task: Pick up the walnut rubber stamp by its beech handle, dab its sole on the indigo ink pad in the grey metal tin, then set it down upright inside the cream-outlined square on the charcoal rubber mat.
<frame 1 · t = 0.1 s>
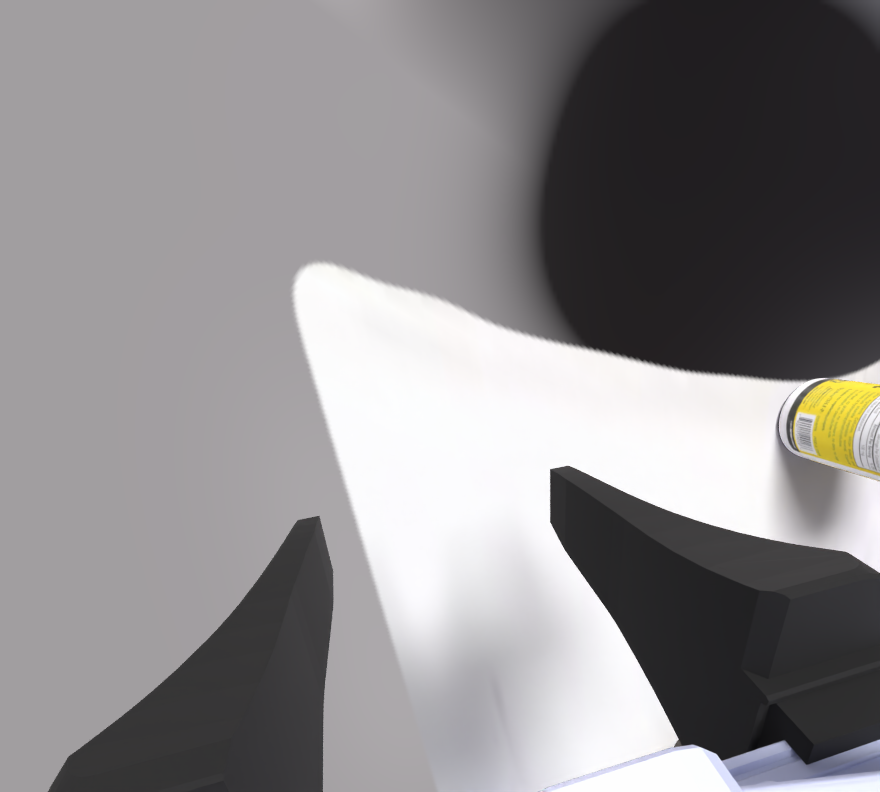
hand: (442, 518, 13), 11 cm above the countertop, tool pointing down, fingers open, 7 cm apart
supplement bottle: (806, 415, 28), on the countertop
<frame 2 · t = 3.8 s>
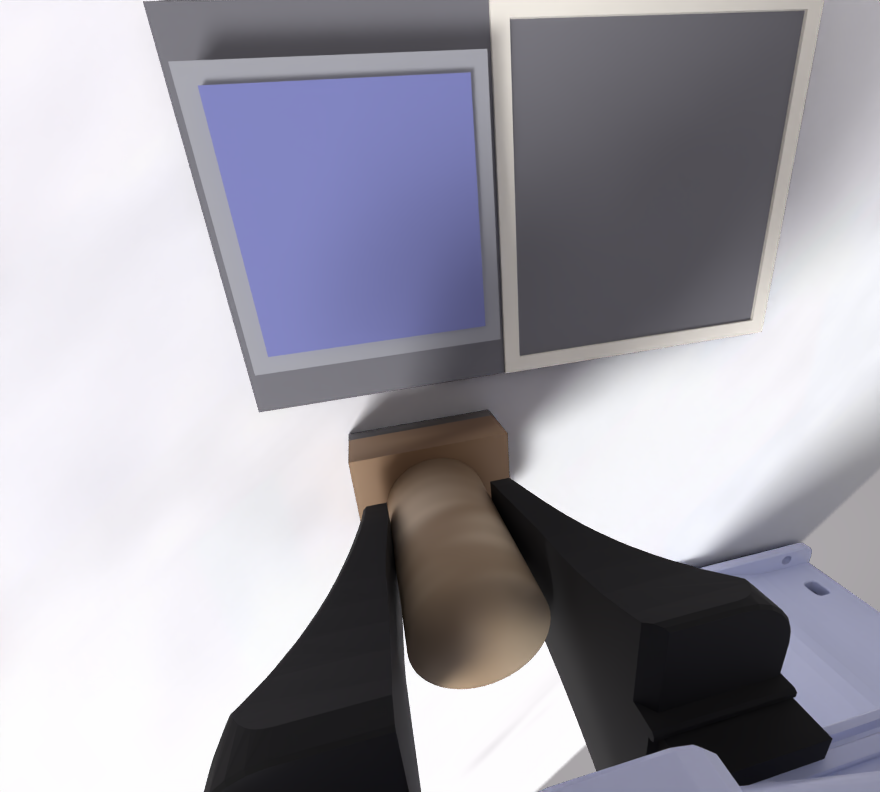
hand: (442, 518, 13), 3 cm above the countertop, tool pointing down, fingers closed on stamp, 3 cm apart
stamp: (426, 470, 15), on the countertop, touching gripper
stamp mat: (523, 209, 13), on the countertop
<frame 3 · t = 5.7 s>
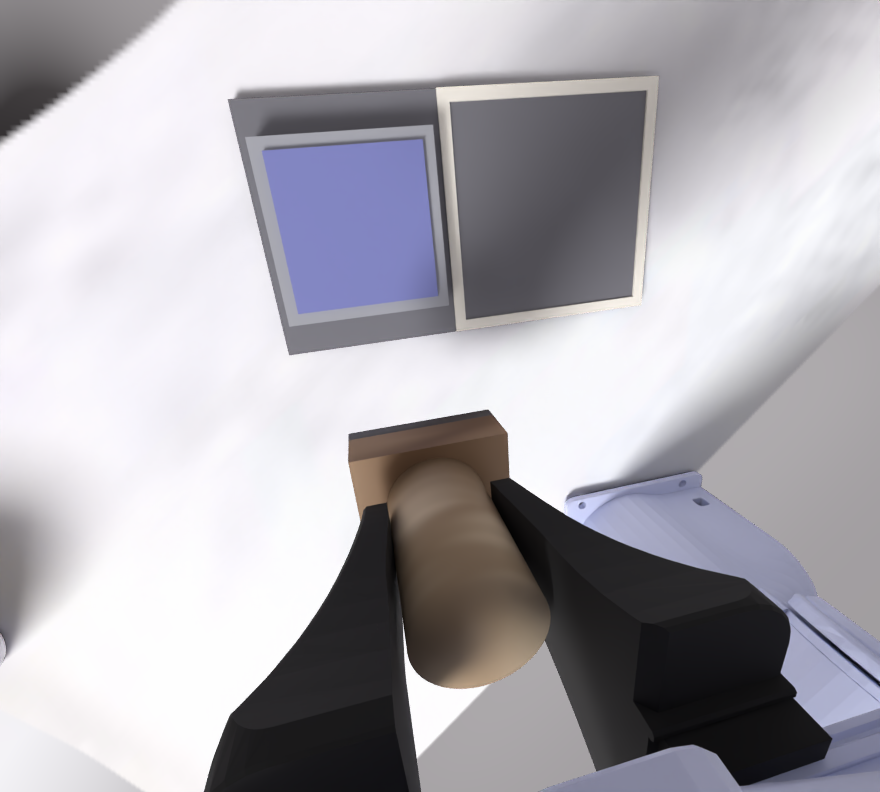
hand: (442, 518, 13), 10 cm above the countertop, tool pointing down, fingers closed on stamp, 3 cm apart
stamp: (426, 470, 15), point 7 cm above the countertop, touching gripper
stamp mat: (465, 219, 19), on the countertop
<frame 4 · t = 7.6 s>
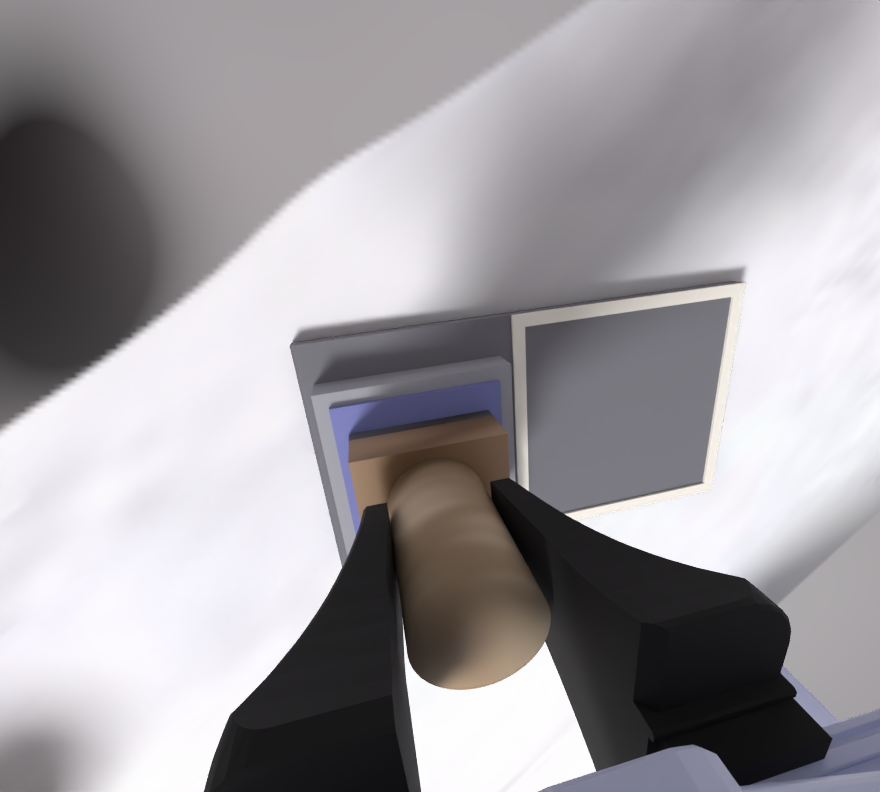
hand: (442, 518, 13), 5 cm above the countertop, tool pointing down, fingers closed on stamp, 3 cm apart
stamp: (426, 470, 15), point 2 cm above the countertop, touching gripper
stamp mat: (533, 425, 18), on the countertop
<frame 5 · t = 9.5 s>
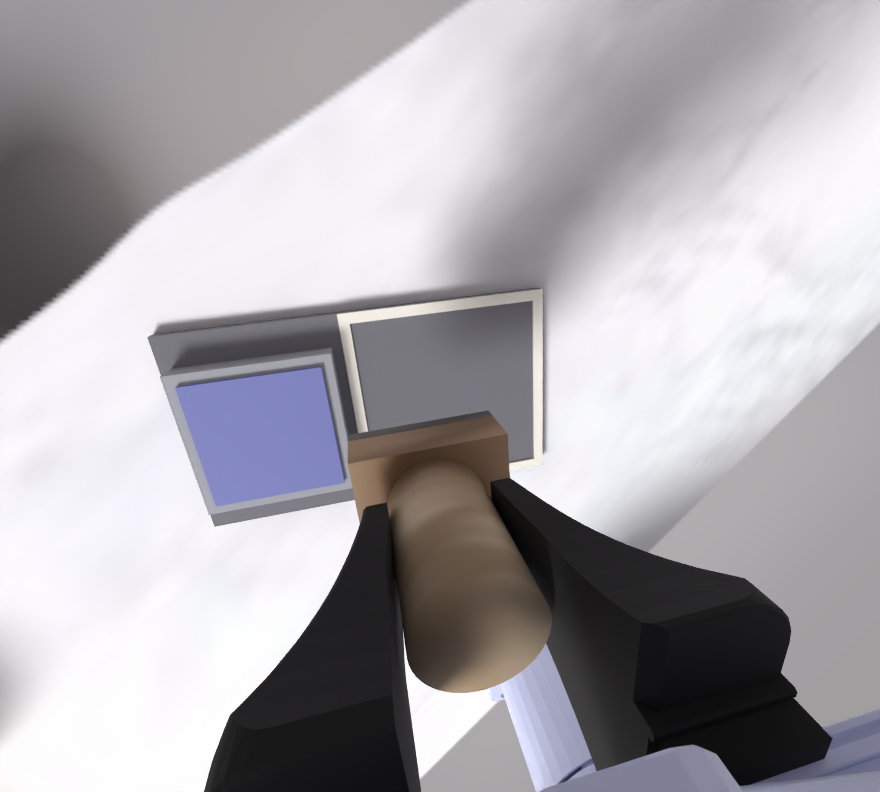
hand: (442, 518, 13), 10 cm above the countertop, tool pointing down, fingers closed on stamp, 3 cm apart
stamp: (426, 471, 15), point 7 cm above the countertop, touching gripper
stamp mat: (374, 406, 21), on the countertop
when the fingers open (4 cm above the countertop, at t = 11.4 s): stamp drops 1 cm, resting on stamp mat.
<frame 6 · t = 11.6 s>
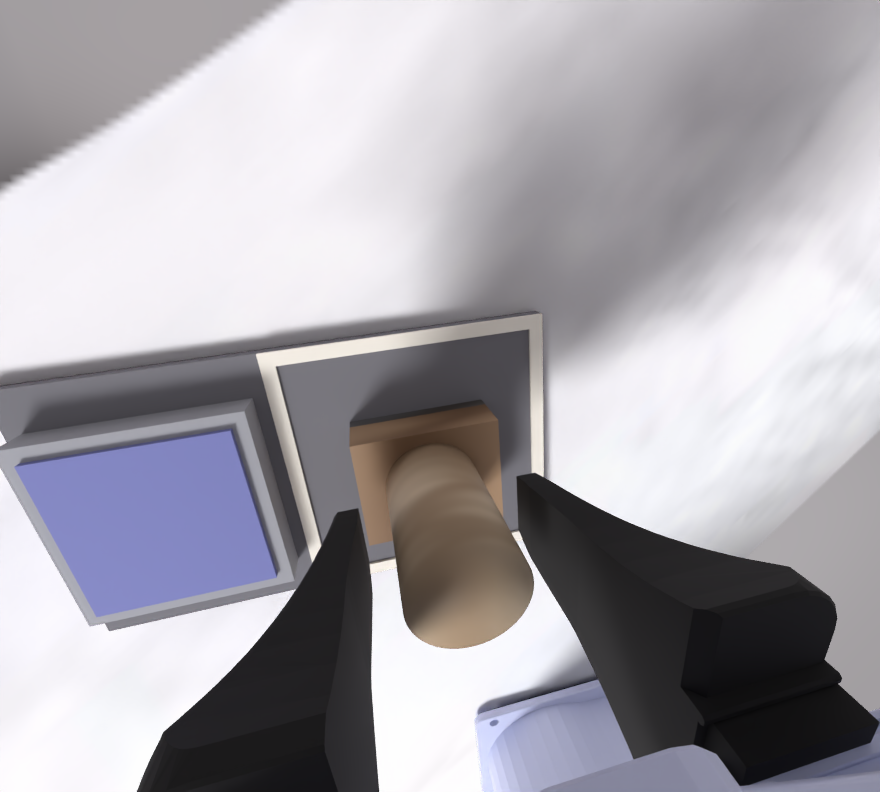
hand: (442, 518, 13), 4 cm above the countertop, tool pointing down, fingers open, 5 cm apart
stamp: (423, 457, 16), resting on stamp mat
stamp mat: (319, 470, 16), on the countertop
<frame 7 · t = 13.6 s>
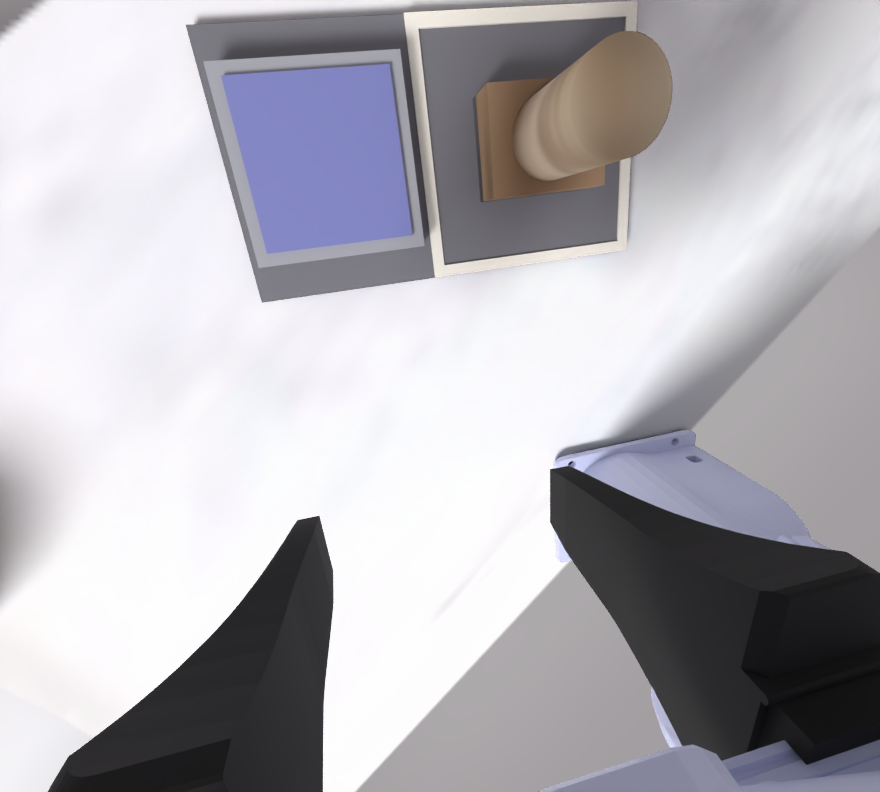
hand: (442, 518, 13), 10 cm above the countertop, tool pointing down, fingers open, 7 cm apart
stamp: (530, 147, 19), resting on stamp mat
stamp mat: (440, 158, 19), on the countertop
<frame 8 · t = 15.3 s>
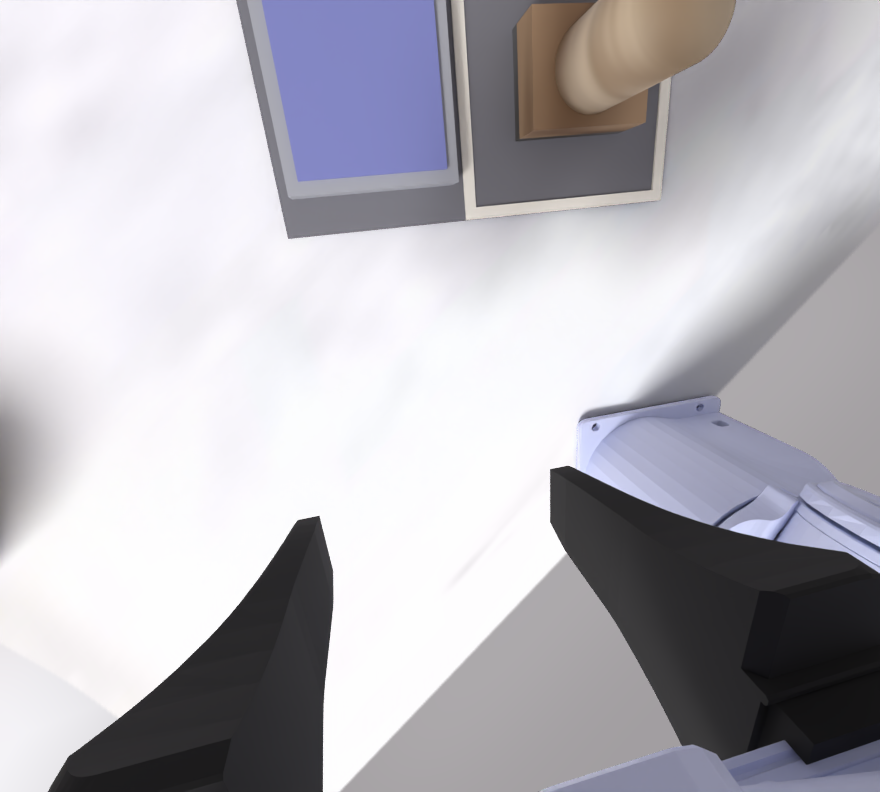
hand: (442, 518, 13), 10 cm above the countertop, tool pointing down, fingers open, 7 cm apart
stamp: (568, 84, 18), resting on stamp mat
stamp mat: (476, 94, 18), on the countertop
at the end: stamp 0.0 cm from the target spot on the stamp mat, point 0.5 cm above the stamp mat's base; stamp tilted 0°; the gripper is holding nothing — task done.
